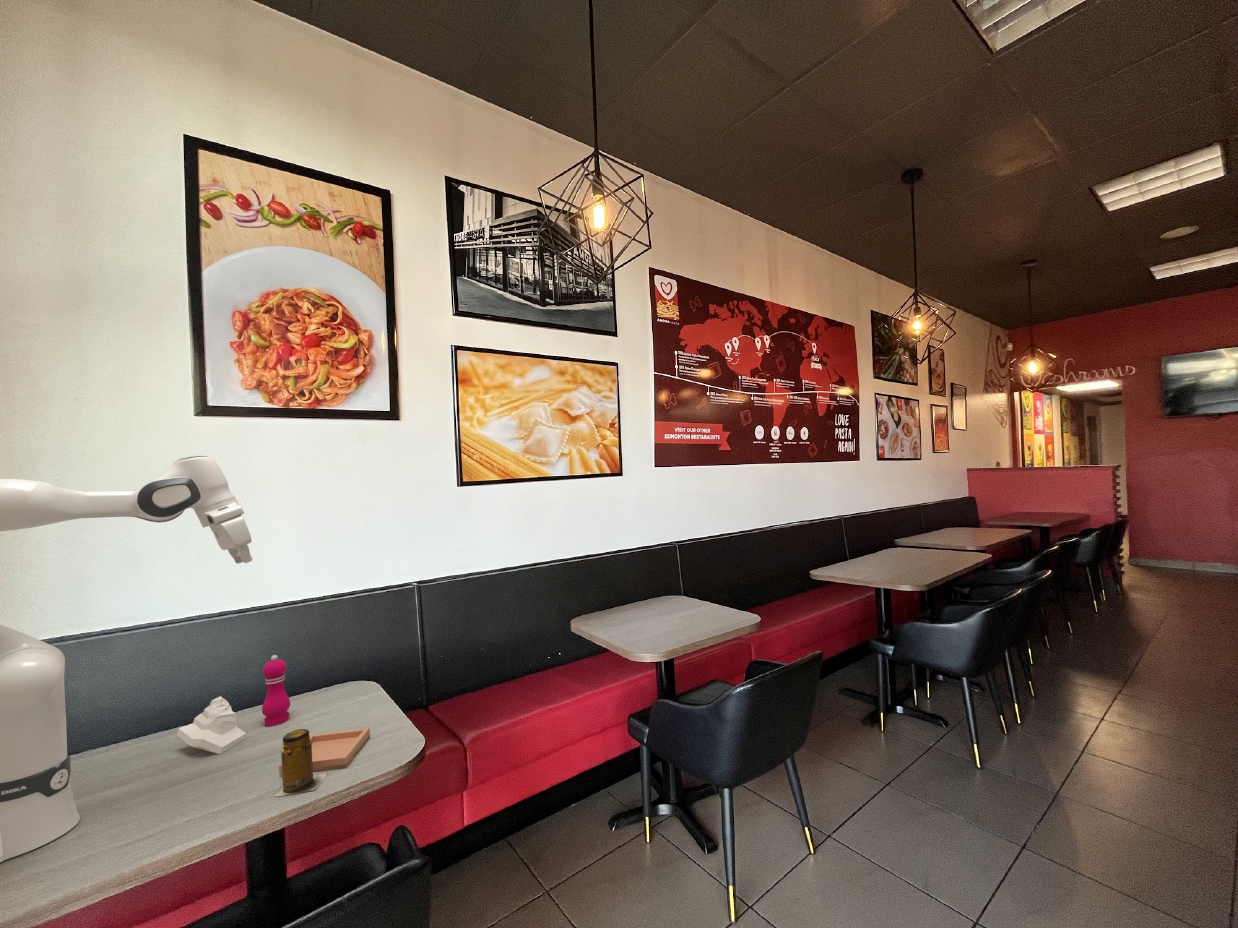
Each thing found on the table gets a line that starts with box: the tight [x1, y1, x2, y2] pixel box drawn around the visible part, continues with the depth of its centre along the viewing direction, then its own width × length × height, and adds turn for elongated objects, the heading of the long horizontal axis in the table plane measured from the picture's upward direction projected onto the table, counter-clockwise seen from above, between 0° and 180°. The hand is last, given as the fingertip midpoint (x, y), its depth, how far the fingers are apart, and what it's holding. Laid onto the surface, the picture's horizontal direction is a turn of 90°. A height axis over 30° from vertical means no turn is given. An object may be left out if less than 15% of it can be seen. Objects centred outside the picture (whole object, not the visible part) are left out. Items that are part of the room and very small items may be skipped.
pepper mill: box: [261, 654, 291, 727], centre depth 154 cm, size 7×7×20 cm
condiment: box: [274, 728, 328, 797], centre depth 118 cm, size 7×8×12 cm
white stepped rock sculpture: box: [176, 695, 247, 755], centre depth 141 cm, size 12×15×14 cm
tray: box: [278, 727, 371, 777], centre depth 131 cm, size 15×15×2 cm
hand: (244, 562), depth 133 cm, fingers open, 8 cm apart
